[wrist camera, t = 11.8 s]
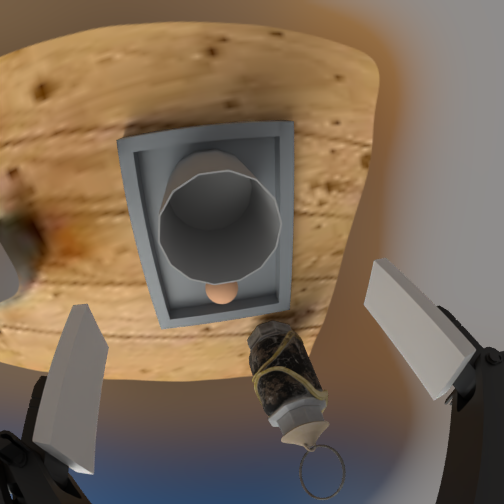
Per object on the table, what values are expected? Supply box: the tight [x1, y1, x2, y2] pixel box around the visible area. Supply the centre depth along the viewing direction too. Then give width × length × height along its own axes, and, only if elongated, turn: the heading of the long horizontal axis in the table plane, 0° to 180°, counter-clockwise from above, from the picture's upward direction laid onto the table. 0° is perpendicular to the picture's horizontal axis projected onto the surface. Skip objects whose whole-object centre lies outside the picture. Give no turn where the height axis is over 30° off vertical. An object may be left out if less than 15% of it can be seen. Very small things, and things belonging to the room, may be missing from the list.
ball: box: [205, 282, 238, 304], centre depth 31 cm, size 4×4×4 cm
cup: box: [158, 148, 282, 285], centre depth 23 cm, size 8×8×10 cm
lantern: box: [247, 321, 345, 500], centre depth 29 cm, size 9×8×25 cm
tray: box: [117, 120, 294, 329], centre depth 29 cm, size 16×22×2 cm
